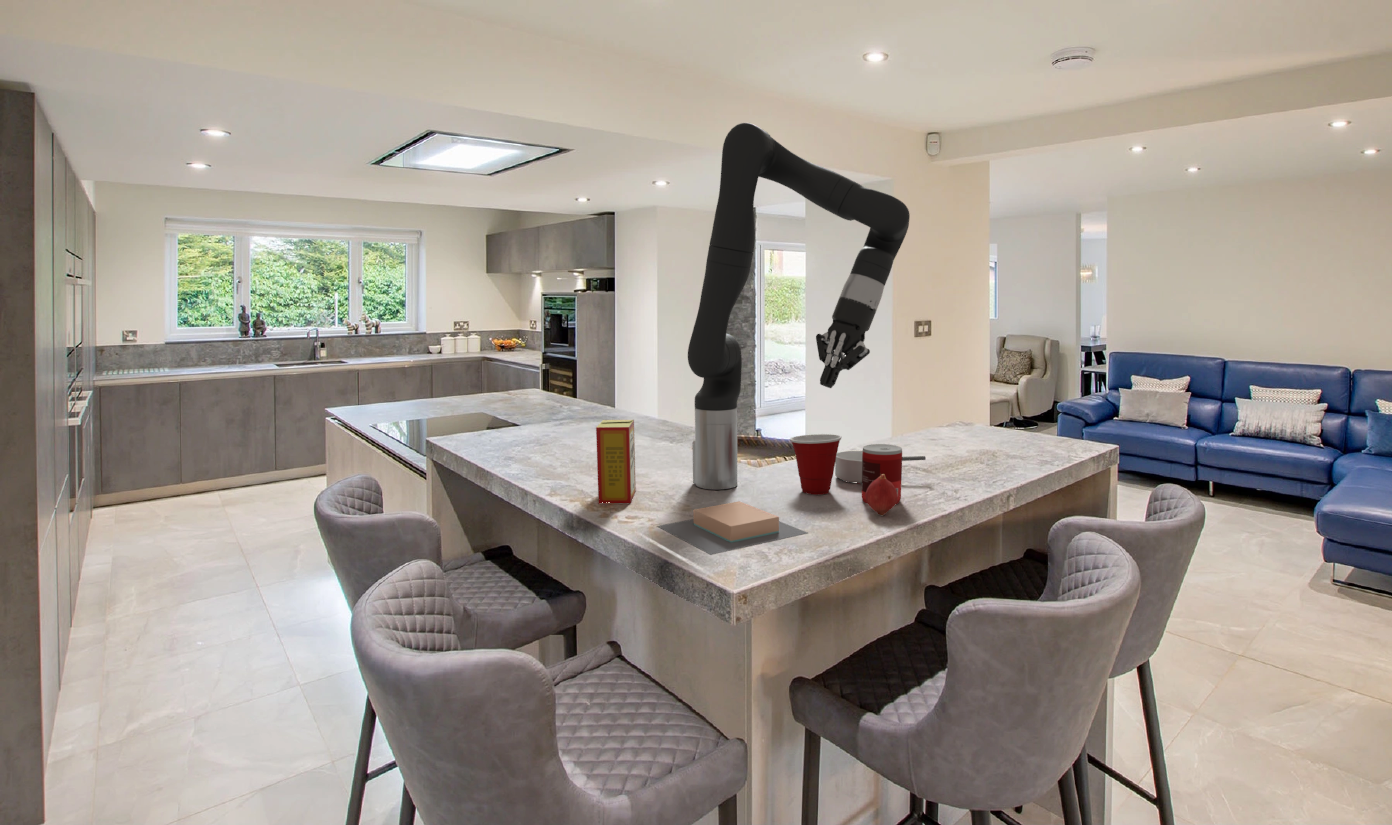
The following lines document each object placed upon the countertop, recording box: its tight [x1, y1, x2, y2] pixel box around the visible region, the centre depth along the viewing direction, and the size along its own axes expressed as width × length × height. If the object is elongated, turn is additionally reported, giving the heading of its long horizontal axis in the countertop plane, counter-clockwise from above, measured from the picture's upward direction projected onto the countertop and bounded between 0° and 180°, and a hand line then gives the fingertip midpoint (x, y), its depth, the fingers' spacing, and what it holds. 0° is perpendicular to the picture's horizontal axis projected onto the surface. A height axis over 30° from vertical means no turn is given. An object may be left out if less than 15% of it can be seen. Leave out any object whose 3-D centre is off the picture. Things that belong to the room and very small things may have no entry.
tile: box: [692, 500, 780, 543], centre depth 132 cm, size 12×3×10 cm
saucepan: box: [834, 449, 927, 484], centre depth 168 cm, size 12×20×6 cm, turn 81°
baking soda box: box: [595, 419, 637, 504], centre depth 155 cm, size 10×6×16 cm
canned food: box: [861, 443, 903, 505], centre depth 150 cm, size 8×8×11 cm
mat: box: [656, 518, 809, 556], centre depth 132 cm, size 18×20×1 cm
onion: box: [865, 474, 898, 516], centre depth 140 cm, size 6×6×8 cm
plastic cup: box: [789, 433, 842, 496], centre depth 158 cm, size 11×11×12 cm
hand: (825, 386), depth 146 cm, fingers closed
